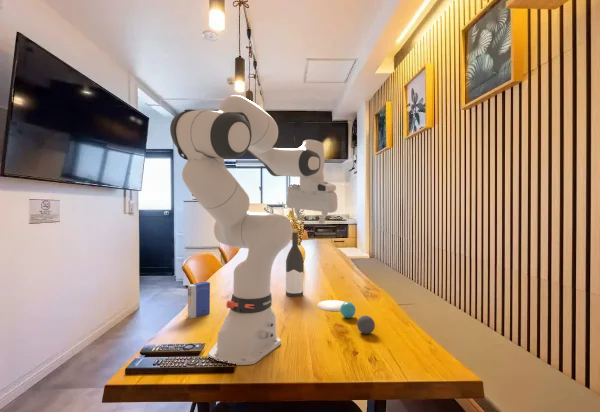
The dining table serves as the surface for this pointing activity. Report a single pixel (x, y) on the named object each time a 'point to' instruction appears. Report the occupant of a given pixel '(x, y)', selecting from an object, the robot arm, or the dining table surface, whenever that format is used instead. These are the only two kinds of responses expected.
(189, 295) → the walkman
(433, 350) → the dining table surface
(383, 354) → the dining table surface
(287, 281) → the wine bottle
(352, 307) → the teal ball
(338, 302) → the cream mark
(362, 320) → the gray ball
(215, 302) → the dining table surface
